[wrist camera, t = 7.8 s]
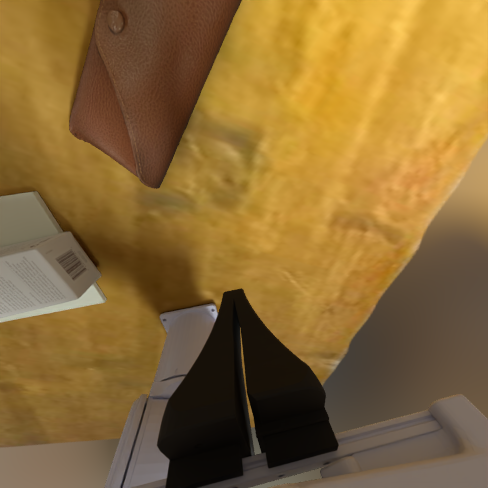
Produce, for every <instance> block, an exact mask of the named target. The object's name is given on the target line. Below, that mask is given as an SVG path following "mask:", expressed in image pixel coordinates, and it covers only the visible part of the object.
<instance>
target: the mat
mask: <svg viewBox="0 0 488 488" xmlns="http://www.w3.org/2000/svg"><path fill="white" fill-rule="evenodd" d="M59 233H63V231H62V229H61V227H60V226H59V224H58V223H57V221H56V220H55V218H54V217H53V215H52V213H51V212H50V210H49V209H48V207H47V206H46V204H45V203H44V201H43V199H42V198H41V196H40V195H39V193H38V192H37V191H34V192H27V193H20V194H14V195H7V196H0V247H4V246H8V245H12V244H17V243H21V242H25V241H29V240H34V239H38V238H42V237H46V236H51V235H55V234H59ZM106 300H107V299H106V297H105V296H104V294H103V293H102V291H101V290H100V288H99V286H98V285H97V283H96V282H95V283H94V284H93V285H92V286H91V287H90V288H89V289H88V290H87V291H86V292H85V293H84V294H83V295H82V296H81V297H80V298H79V299H77V300H73V301H69V302H65V303H61V304H57V305H53V306H49V307H45V308H41V309H36V310H32V311H28V312H24V313H20V314H16V315H12V316H8V317H4V318H0V322H4V321H10V320H15V319H20V318H25V317H30V316H36V315H41V314H46V313H51V312H57V311H62V310H67V309H72V308H78V307H83V306H88V305H93V304H99V303H104V302H105V301H106Z"/></svg>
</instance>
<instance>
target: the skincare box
mask: <svg viewBox="0 0 488 488" xmlns="http://www.w3.org/2000/svg"><path fill="white" fill-rule="evenodd" d="M100 277H101V273H100V272H99V271H98V269H97V268H96V267H95V265H94V264H93V263H92V261H91V260H90V259H89V257H88V256H87V255H86V253H85V252H84V250H83V249H82V248H81V246H80V245H79V243H78V242H77V241H76V239H75V238H74V237H73V235H72V233H71V232H70V231H68V232H63V233H59V234H55V235H51V236H46V237H42V238H38V239H34V240H29V241H25V242H21V243H17V244H12V245H8V246H4V247H0V318H4V317H8V316H12V315H16V314H20V313H24V312H28V311H32V310H36V309H41V308H45V307H49V306H53V305H57V304H61V303H65V302H69V301H73V300H77V299H79V298H80V297H81V296H82V295H83V294H84V293H85V292H86V291H87V290H88V289H89V288H90V287H91V286H92V285H93V284H94V283H95V282H96V281H97V280H98V279H99V278H100Z"/></svg>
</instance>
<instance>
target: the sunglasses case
mask: <svg viewBox="0 0 488 488" xmlns="http://www.w3.org/2000/svg"><path fill="white" fill-rule="evenodd" d="M241 1H242V0H101V1H100V6H99V9H98V12H97V17H96V21H95V26H94V29H93V34H92V38H91V42H90V46H89V49H88V53H87V57H86V61H85V65H84V67H83V71H82V75H81V80H80V83H79V87H78V90H77V94H76V98H75V101H74V105H73V108H72V113H71V116H70V125H69V127H70V129H69V130H70V132H71V133H72V134H73V135H74V136H75V137H76V138H78V139H80V140H84V141H85V142H88V143H90V144H92V145H93V146H95V147H96V148H98V149H100V150H101V151H103V152H104V153H105V154H107V155H108V156H110V157H111V158H113V159H114V160H115V161H117V162H118V163H119V164H121V165H122V166H123V167H125V168H126V169H128V170H129V171H130V172H131V173H133V174H134V175H136V176H137V177H139V179H140V181H141V182H142V183H143V184H145V185H146V186H148V187H151V188H156V189H157V188H159V187H160V185H161V183H162V181H163V179H164V177H165V175H166V172H167V170H168V168H169V165H170V163H171V161H172V159H173V156H174V154H175V151H176V149H177V146H178V145H179V142H180V139H181V137H182V135H183V133H184V130H185V128H186V126H187V124H188V122H189V119H190V117H191V114H192V112H193V109H194V107H195V105H196V103H197V100H198V98H199V95H200V93H201V90H202V88H203V86H204V84H205V81H206V79H207V77H208V75H209V72H210V70H211V68H212V66H213V63H214V61H215V58H216V56H217V54H218V52H219V50H220V47H221V45H222V43H223V40H224V38H225V36H226V34H227V32H228V30H229V27H230V25H231V22H232V20H233V17H234V15H235V13H236V11H237V9H238V7H239V5H240V3H241Z"/></svg>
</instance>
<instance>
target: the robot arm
mask: <svg viewBox="0 0 488 488" xmlns="http://www.w3.org/2000/svg"><path fill="white" fill-rule="evenodd" d="M212 309H213V310H212ZM160 320H161V322H162V324H163V326H164V328H165V330H166V332H167V337H166V340H165V344H164V348H163V351H162V355H161V358H160V362H159V365H158V369H157V372H156V376H155V379H154V382H153V384H152V387H151V390H150V394H149V397H148V398H147V394H142V395H141V396H140V398H138V399H137V400H136V401H134V403H133V405H132V407H131V410H130V413H129V415H128V418H127V421H126V424H125V427H124V429H123V432H122V435H121V438H120V441H119V444H118V447H117V450H116V453H115V456H114V459H113V462H112V465H111V468H110V472H109V475H108V478H107V481H106V484H105V488H249V487H253V486H256V485H260V484H264V483H267V482H271V481H275V480H278V479H282V478H286V477H289V476H292V475H297V474H300V473H304V472H308V471H311V470H315V469H318V468H322V467H324V468H322V469H321V471H320V473H321V476H322V479H316V480H311V481H305V482H299V483H294V484H282V485H277V486H273V487H269V488H488V419H487V418H486V417H485V416H484V415H483V414H482V413H481V412H480V411H479V410H478V409H477V408H476V407H475V406H474V405H473V404H472V403H471V402H470V401H468V399H467V398H465V396H463V395H461V394H458V395H454V396H450V397H446V398H442V399H439V400H436V401H434V402H433V403H431V404H430V406H429V408H428V410H426V411H421V412H418V413H414V414H410V415H406V416H402V417H399V418H395V419H391V420H387V421H383V422H380V423H376V424H372V425H368V426H364V427H360V428H356V429H353V430H349V431H345V432H341V433H338V434H334V432H333V430H332V428H331V425H330V423H329V417H328V414H327V412H326V410H325V407H324V405H325V398H326V395H325V391H324V389H323V387H322V385H321V383H320V382H319V380H318V378H317V377H316V375H315V374H314V373H313V371H312V370H311V368H310V367H309V366H308V365H307V364H306V363H304V362H303V361H302V360H300V359H299V358H298V357H297V356H296V355H294V354H293V353H292V352H291V351H290V350H289V349H288V348H286V347H285V346H284V345H283V344H282V343H281V342H280V341H279V340H278V339H277V338H276V337H275V336H274V335H273V334H272V333H271V332H270V330H269V329H268V328H267V327H266V326H265V325H264V323H263V322H262V321H261V320H260V318H259V317H258V316H257V314H256V313H255V311H254V310H253V308H252V307H251V305H250V303H249V302H248V300H247V298H246V296H245V293H244V290H243V289H237V290H232V291H227V292H224V293H223V298H222V302H221V306H220V309H219V312H218V313H217V309H216V305H215V304H207V305H202V306H197V307H192V308H187V309H182V310H177V311H172V312H167V313H162V314H161V315H160ZM240 328H241V337H242V345H243V355H244V365H245V375H246V386H247V394H248V398H249V401H250V405H251V409H252V413H253V416H254V423H255V430H256V437H257V438H258V442H259V445H260V449H261V454H257V455H255V454H254V447H253V440H252V434H251V426H250V420H249V412H248V405H247V398H246V391H245V384H244V376H243V369H242V359H241V339H240Z"/></svg>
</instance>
